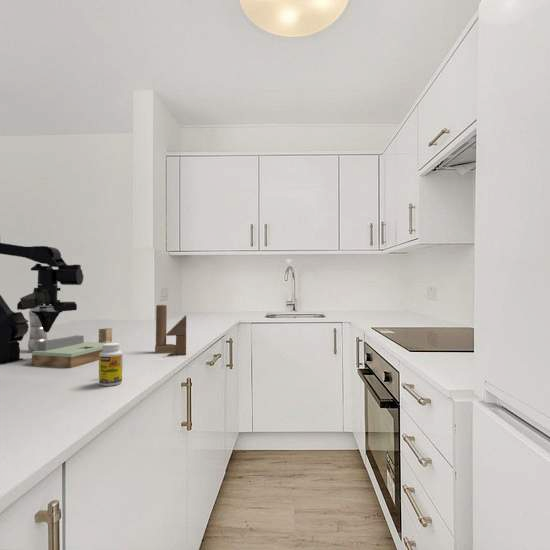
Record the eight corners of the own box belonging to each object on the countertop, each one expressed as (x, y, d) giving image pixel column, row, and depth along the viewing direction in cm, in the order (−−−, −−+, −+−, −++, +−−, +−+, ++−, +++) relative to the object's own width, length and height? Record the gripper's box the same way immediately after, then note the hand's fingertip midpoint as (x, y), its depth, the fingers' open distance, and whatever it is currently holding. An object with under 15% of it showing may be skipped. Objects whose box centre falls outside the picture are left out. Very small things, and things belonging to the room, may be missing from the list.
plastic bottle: (43, 349, 149) (43, 297, 149) (51, 351, 145) (52, 298, 145) (24, 351, 144) (25, 298, 144) (32, 353, 140) (33, 298, 140)
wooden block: (186, 355, 139) (186, 305, 139) (154, 356, 136) (155, 305, 136) (185, 353, 142) (186, 304, 143) (155, 354, 140) (155, 304, 140)
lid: (32, 354, 116) (32, 343, 116) (80, 344, 135) (80, 334, 135) (71, 357, 113) (71, 345, 113) (115, 346, 132) (115, 336, 132)
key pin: (98, 353, 141) (98, 328, 141) (104, 352, 144) (104, 327, 144) (106, 353, 140) (106, 329, 140) (111, 352, 143) (112, 328, 143)
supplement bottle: (96, 387, 96) (97, 346, 96) (101, 381, 101) (101, 342, 101) (120, 386, 97) (120, 345, 97) (123, 380, 102) (124, 342, 103)
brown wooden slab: (31, 368, 116) (31, 355, 116) (80, 356, 135) (80, 344, 135) (71, 371, 113) (71, 357, 113) (114, 358, 132) (115, 346, 132)
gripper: (2, 284, 122) (1, 333, 121) (51, 285, 117) (50, 336, 117) (32, 284, 132) (31, 329, 132) (78, 285, 128) (77, 332, 128)
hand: (46, 332), depth 127 cm, fingers closed
